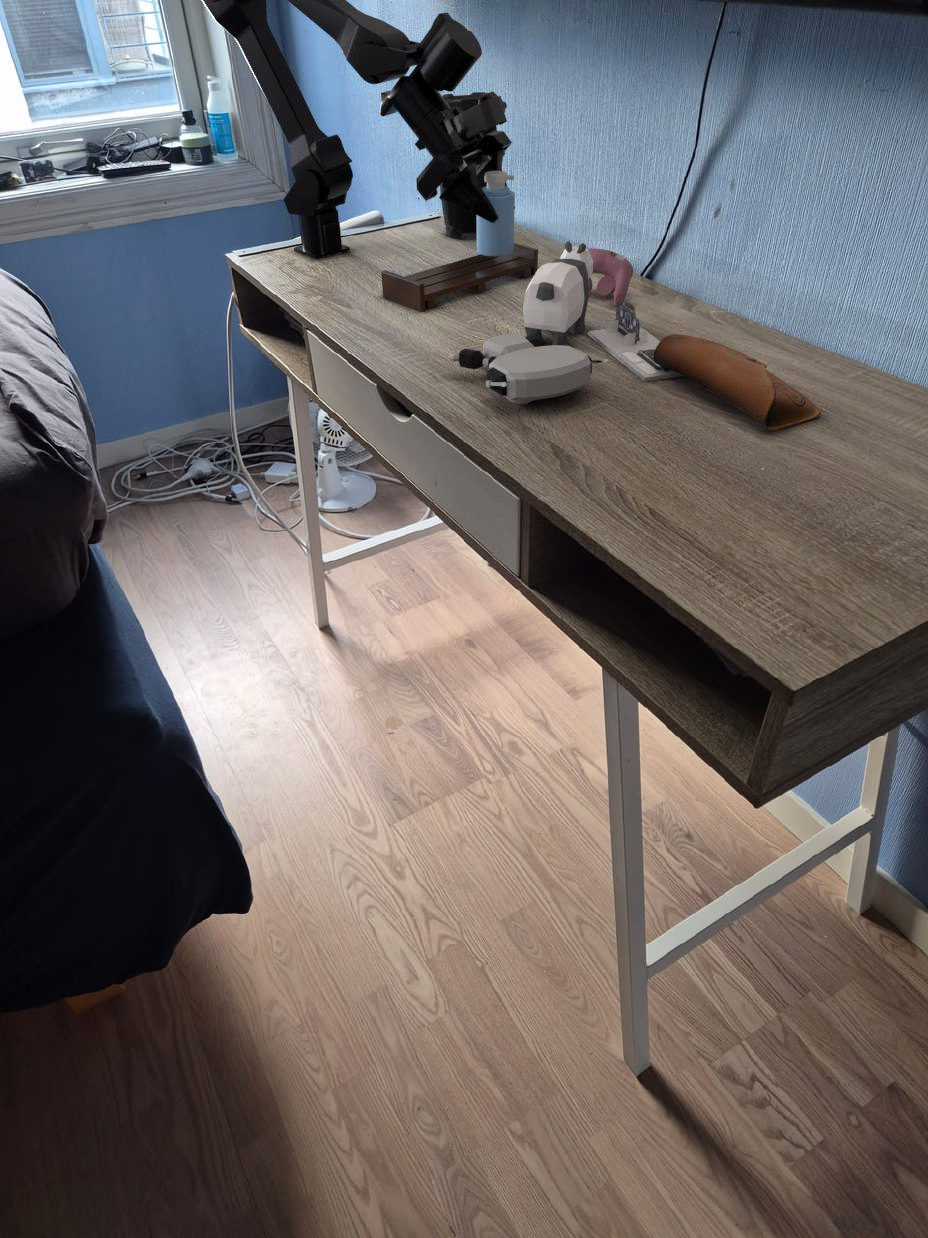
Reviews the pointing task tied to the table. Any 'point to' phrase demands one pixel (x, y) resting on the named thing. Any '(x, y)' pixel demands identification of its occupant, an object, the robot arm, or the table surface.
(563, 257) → the giant panda
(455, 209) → the portable speaker
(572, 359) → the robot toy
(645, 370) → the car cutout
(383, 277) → the rack
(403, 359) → the table surface
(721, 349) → the sunglasses case
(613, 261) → the video game controller
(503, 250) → the bottle
